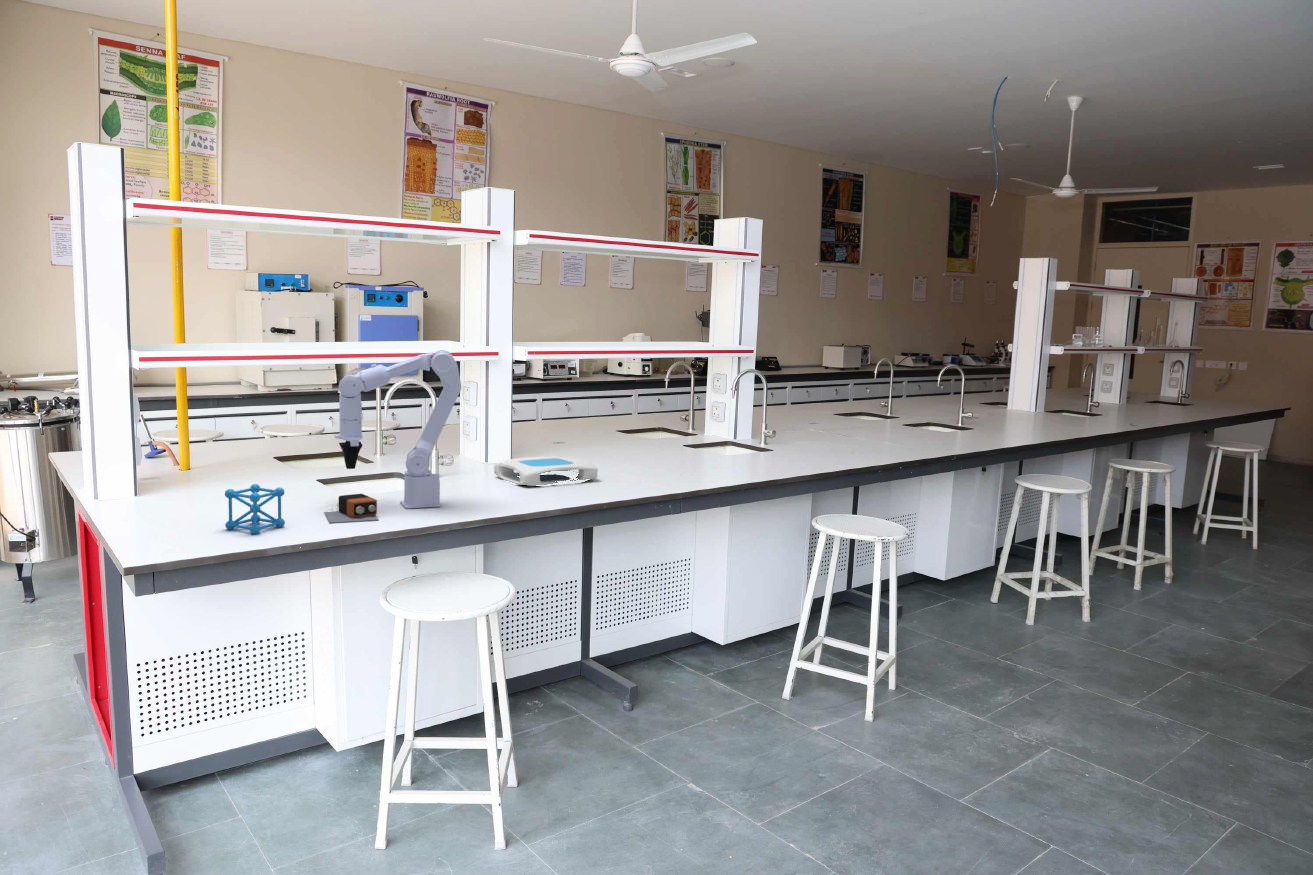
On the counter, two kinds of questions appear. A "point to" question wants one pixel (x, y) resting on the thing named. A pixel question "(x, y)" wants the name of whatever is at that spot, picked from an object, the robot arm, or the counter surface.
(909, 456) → the counter surface
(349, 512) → the battery
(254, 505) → the molecular structure
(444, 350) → the robot arm
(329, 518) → the mat
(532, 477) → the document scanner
